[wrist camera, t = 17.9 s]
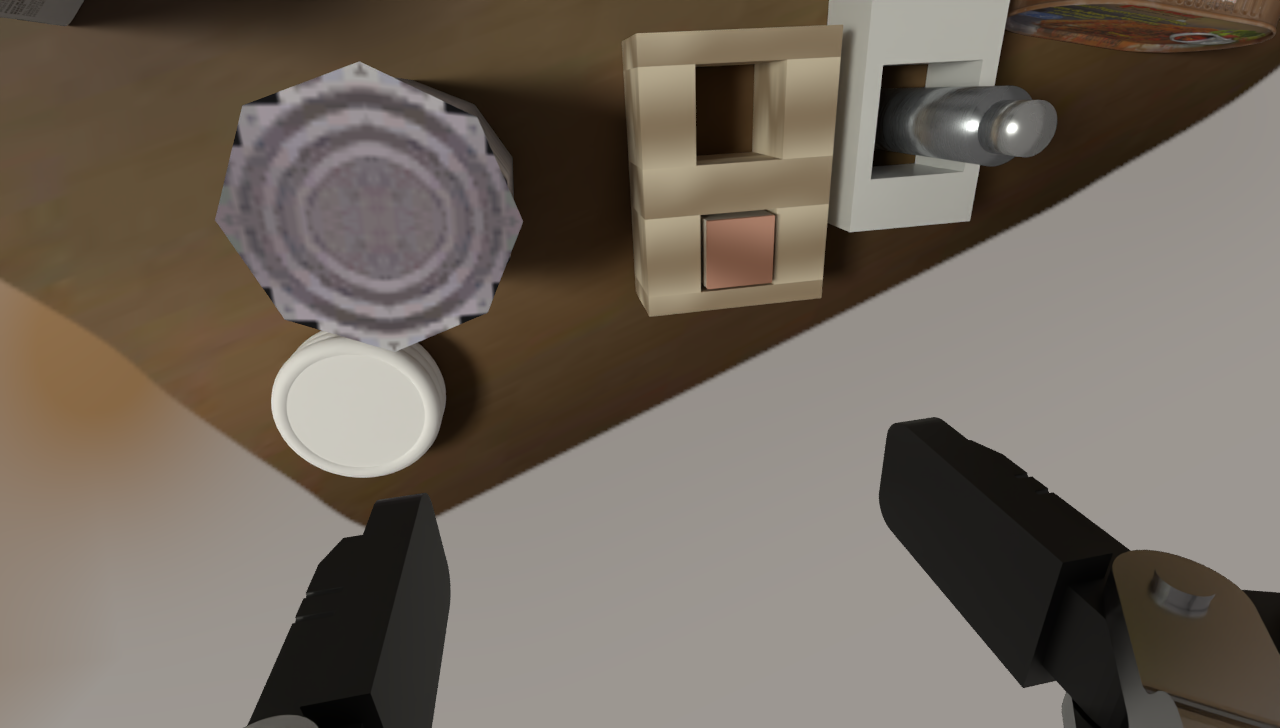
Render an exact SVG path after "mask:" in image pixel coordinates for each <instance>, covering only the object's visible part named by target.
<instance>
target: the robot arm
mask: <svg viewBox="0 0 1280 728" xmlns="http://www.w3.org/2000/svg"><path fill="white" fill-rule="evenodd" d="M879 503H880V508H881V512H882V515H883V518H884V520H885V522H886V524H887V526H888V527H889V528H890V530H891V531H892V532H893V533H894V535H895V536H896V537H897V538H898V540H899V541H900V542H901V543H902V544H903V545H904V547H906V549H907V550H908V551H909V552H910V554H911V555H912V556H913V557H914V559H915V560H916V561H917V562H918V563H919V564H920V566H921V567H922V568H923V569H924V571H925V572H926V573H927V574H928V575H929V576H930V578H931V579H932V580H933V581H934V582H935V584H936V585H937V586H938V587H939V588H940V590H941V591H942V592H943V593H944V594H945V595H946V597H947V598H948V599H949V600H950V601H951V603H952V604H953V605H954V606H955V607H956V609H957V610H958V611H959V612H960V613H961V615H962V616H963V617H964V618H965V619H966V621H967V622H968V623H969V624H970V625H971V627H972V628H973V629H974V630H975V631H976V632H977V634H978V635H979V636H980V637H981V638H982V640H983V641H984V642H985V643H986V644H987V646H988V647H989V648H990V649H991V650H992V651H993V653H994V654H995V655H996V656H997V657H998V659H999V660H1000V661H1001V662H1002V663H1003V665H1004V666H1005V667H1006V668H1007V669H1008V671H1009V672H1010V673H1011V674H1012V675H1013V676H1014V678H1015V679H1016V680H1017V681H1018V683H1019V684H1020V685H1021V686H1022V687H1023V688H1025V687H1030V686H1035V685H1039V684H1044V683H1048V682H1053V681H1057V682H1058V683H1059V684H1060V685H1061V686H1062V687H1063V688H1064V690H1065V691H1066V694H1065V697H1064V700H1063V703H1062V717H1063V725H1064V728H1280V593H1276V592H1263V591H1250V590H1241V589H1240V588H1239V587H1238V586H1237V585H1235V584H1234V583H1233V582H1231V581H1230V580H1228V579H1227V578H1226V577H1224V576H1222V575H1221V574H1219V573H1217V572H1216V571H1214V570H1212V569H1210V568H1208V567H1206V566H1204V565H1202V564H1199V563H1197V562H1195V561H1192V560H1190V559H1187V558H1184V557H1181V556H1178V555H1174V554H1170V553H1166V552H1160V551H1153V550H1133V551H1130V550H1129V549H1128V548H1126V547H1125V546H1124V545H1122V544H1121V543H1120V542H1118V541H1117V540H1116V539H1114V538H1113V537H1112V536H1110V535H1109V534H1108V533H1106V532H1105V531H1104V530H1102V529H1101V528H1100V527H1098V526H1097V525H1096V524H1095V523H1093V522H1092V521H1090V520H1089V519H1088V518H1086V517H1085V516H1084V515H1083V514H1081V513H1080V512H1078V511H1077V510H1076V509H1075V508H1073V507H1072V506H1071V505H1069V504H1068V503H1066V502H1065V501H1064V500H1063V499H1061V498H1060V497H1059V496H1057V495H1056V494H1054V493H1049V492H1048V488H1047V487H1045V486H1044V485H1043V484H1041V483H1040V482H1039V481H1037V480H1036V479H1034V478H1033V477H1028V475H1027V472H1025V471H1024V470H1023V469H1021V468H1020V467H1019V466H1017V465H1016V464H1015V463H1013V462H1012V461H1011V460H1009V459H1008V458H1007V457H1006V456H1004V455H1003V454H1001V453H998V452H996V451H994V450H992V449H990V448H987V447H985V446H983V445H981V444H978V443H976V442H974V441H972V440H968V439H966V438H965V437H964V436H963V435H961V434H960V433H959V432H957V431H956V430H955V429H954V428H952V427H951V426H950V425H948V424H947V423H946V422H945V421H943V420H942V419H940V418H936V417H933V418H926V419H919V420H913V421H907V422H900V423H895V424H893V425H892V426H891V427H890V428H889V430H888V433H887V438H886V446H885V453H884V461H883V468H882V475H881V483H880V490H879ZM306 595H307V596H306V598H304V599H303V601H302V603H301V605H300V608H299V610H298V612H297V615H296V622H295V623H293V624H292V626H291V628H290V630H289V633H288V635H287V637H286V639H285V642H284V644H283V646H282V649H281V651H280V653H279V656H278V658H277V660H276V662H275V664H274V667H273V669H272V671H271V674H270V676H269V678H268V680H267V683H266V685H265V687H264V689H263V692H262V694H261V696H260V699H259V701H258V703H257V705H256V708H255V710H254V712H253V714H252V717H251V719H250V721H249V723H248V725H247V726H246V727H244V728H432V722H433V715H434V708H435V701H436V695H437V688H438V681H439V675H440V668H441V661H442V655H443V648H444V641H445V634H446V627H447V620H448V613H449V607H450V576H449V569H448V564H447V560H446V556H445V553H444V549H443V545H442V541H441V537H440V533H439V529H438V525H437V522H436V518H435V514H434V510H433V506H432V503H431V500H430V497H429V496H428V494H427V493H422V494H415V495H409V496H402V497H395V498H389V499H382V500H378V501H376V503H375V504H374V507H373V509H372V512H371V515H370V517H369V520H368V523H367V525H366V528H365V531H364V533H363V535H359V536H353V537H347V538H343V539H342V540H341V541H340V542H339V543H338V544H337V545H336V546H335V547H334V549H333V550H332V551H331V552H330V553H329V554H328V555H327V556H326V557H325V558H324V559H323V560H322V561H321V562H320V563H319V565H318V567H317V569H316V571H315V574H314V576H313V578H312V580H311V583H310V585H309V587H308V590H307V592H306Z"/></svg>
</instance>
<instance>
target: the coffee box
mask: <svg viewBox="0 0 1280 728" xmlns="http://www.w3.org/2000/svg"><path fill="white" fill-rule="evenodd" d="M83 2H84V0H0V17H4V18H11V19H17V20H25V21H31V22H39V23H46V24H53V25H60V26H67V25H68V24H69V23H70V22H71V21H72V20H73V18H74V17H75V15H76V13H77V12H78V10H79V8H80V7H81V5H82V3H83Z"/></svg>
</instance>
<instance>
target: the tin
mask: <svg viewBox="0 0 1280 728" xmlns="http://www.w3.org/2000/svg"><path fill="white" fill-rule="evenodd" d="M1279 18H1280V0H1010V3H1009V8H1008V14H1007V19H1006V25H1005V29H1006V30H1008V31H1010V32H1013V33H1018V34H1022V35H1027V36H1033V37H1039V38H1045V39H1052V40H1058V41H1065V42H1071V43H1077V44H1083V45H1089V46H1095V47H1102V48H1108V49H1114V50H1122V51H1134V52H1156V53H1159V52H1162V53H1166V52H1191V51H1204V50H1217V49H1227V48H1233V47H1241V46H1246V45H1251V44H1256V43H1260V42H1263V41H1266V40H1269V39H1271V38H1272V37H1274V35H1275V34H1276V25H1277V23H1278V20H1279Z"/></svg>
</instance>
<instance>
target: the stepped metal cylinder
mask: <svg viewBox="0 0 1280 728" xmlns="http://www.w3.org/2000/svg"><path fill="white" fill-rule="evenodd" d="M1056 126H1057V114H1056V111H1055V109H1054V107H1053V106H1052V105H1051V104H1050V103H1049V102H1047V101H1044V100H1032V99H1031V97H1030V95H1029V94H1028V93H1027V92H1026V91H1025V90H1023V89H1022V88H1019V87H1016V86H972V87H923V88H881V89H880V98H879V108H878V117H877V126H876V135H875V144H874V149H879V150H886V151H892V152H899V153H906V154H912V155H919V156H925V157H932V158H938V159H945V160H951V161H958V162H965V163H971V164H978V165H984V166H998V165H1001V164H1004V163H1006V162H1008V161H1010V160H1011V159H1012V158H1014V157H1015V156H1018V157H1031V156H1034V155H1036V154H1038V153H1039V152H1041V151H1042V150H1043V149H1044V148H1045V147H1046V146H1047V145H1048V144H1049V142H1050V141H1051V139H1052V138H1053V136H1054V133H1055V130H1056Z"/></svg>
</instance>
